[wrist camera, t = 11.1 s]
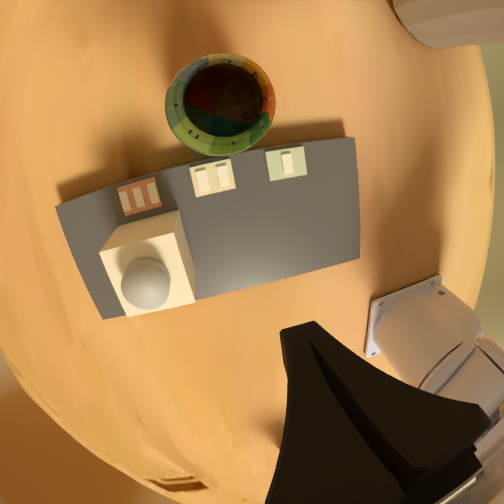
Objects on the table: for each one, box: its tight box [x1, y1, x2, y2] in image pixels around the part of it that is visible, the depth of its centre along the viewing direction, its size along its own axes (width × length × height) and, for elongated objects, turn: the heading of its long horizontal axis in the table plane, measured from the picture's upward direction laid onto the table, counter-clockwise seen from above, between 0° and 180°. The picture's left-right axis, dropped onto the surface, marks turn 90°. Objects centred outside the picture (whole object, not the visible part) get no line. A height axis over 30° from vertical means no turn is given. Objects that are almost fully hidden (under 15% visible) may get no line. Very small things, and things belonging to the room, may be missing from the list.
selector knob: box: [99, 210, 196, 317], centre depth 15 cm, size 4×4×5 cm
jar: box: [165, 53, 276, 156], centre depth 12 cm, size 5×5×8 cm
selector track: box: [55, 137, 360, 320], centre depth 18 cm, size 20×9×2 cm, turn 100°
